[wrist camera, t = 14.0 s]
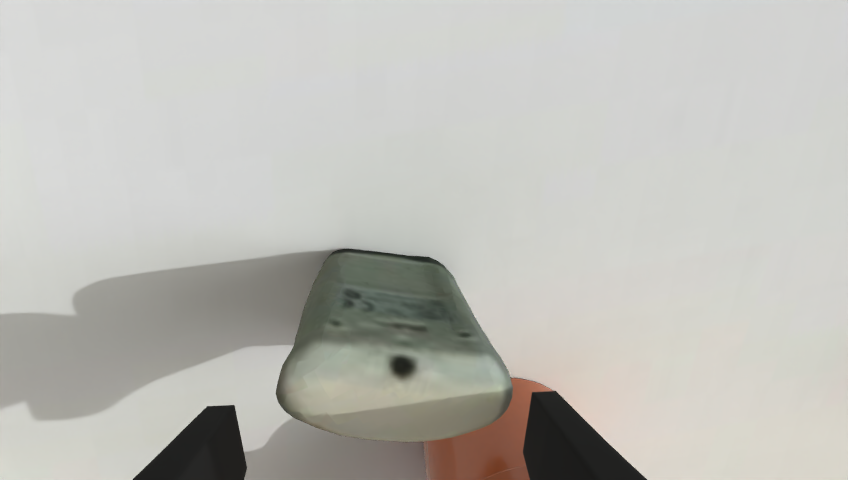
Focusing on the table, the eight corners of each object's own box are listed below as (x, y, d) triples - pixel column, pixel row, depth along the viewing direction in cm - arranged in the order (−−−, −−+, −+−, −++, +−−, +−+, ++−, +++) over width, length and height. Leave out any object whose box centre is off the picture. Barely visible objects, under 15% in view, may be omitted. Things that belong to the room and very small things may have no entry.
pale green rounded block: (432, 192, 16) (473, 289, 8) (477, 296, 17) (542, 451, 10) (304, 249, 16) (230, 390, 9) (361, 344, 18) (342, 527, 10)
